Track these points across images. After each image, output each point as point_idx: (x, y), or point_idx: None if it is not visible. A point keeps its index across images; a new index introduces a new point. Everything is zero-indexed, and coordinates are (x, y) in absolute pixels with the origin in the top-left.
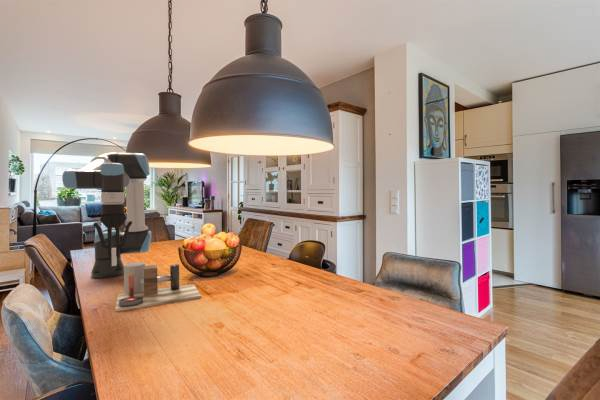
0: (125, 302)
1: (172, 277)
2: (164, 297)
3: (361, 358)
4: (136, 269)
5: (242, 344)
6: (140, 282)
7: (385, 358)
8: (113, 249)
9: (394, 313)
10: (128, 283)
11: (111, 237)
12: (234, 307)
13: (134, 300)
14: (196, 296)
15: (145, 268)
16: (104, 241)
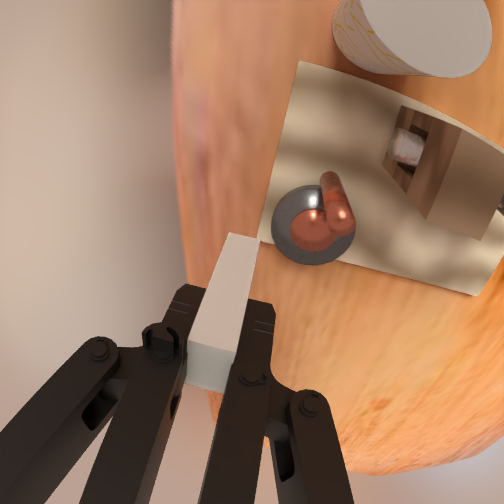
0: (288, 247)
1: (502, 212)
2: (418, 241)
3: (392, 461)
4: (421, 74)
5: (357, 436)
6: (392, 158)
7: (400, 463)
8: (204, 383)
9: (486, 433)
10: (354, 51)
11: (151, 486)
12: (453, 370)
13: (319, 249)
14: (469, 293)
15: (439, 211)
16: (99, 430)
